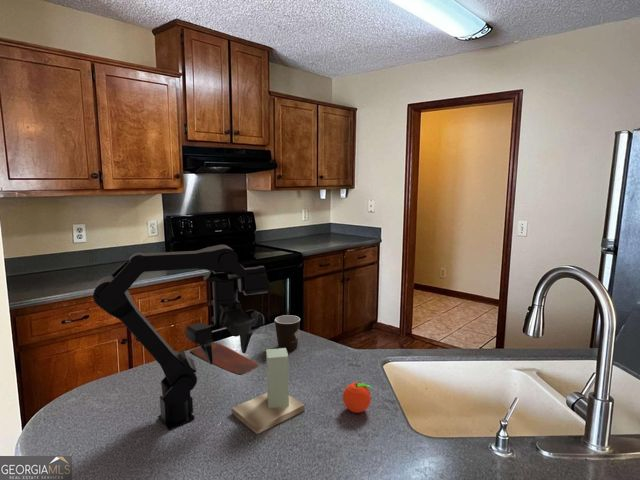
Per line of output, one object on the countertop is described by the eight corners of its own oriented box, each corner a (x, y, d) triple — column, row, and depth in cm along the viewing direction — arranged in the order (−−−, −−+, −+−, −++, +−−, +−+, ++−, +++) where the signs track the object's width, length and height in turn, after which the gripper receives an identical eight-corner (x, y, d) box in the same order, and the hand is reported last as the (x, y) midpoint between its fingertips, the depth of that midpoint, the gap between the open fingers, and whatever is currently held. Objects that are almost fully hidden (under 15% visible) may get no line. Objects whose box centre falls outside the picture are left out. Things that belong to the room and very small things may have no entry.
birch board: (257, 434, 91) (257, 428, 91) (232, 413, 99) (231, 407, 99) (304, 410, 101) (304, 404, 100) (278, 393, 109) (277, 388, 109)
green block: (268, 408, 99) (267, 358, 97) (267, 397, 104) (266, 349, 102) (288, 406, 100) (288, 356, 98) (286, 395, 105) (285, 347, 103)
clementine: (370, 401, 105) (370, 375, 104) (378, 416, 98) (378, 389, 97) (340, 404, 104) (340, 378, 103) (346, 419, 97) (346, 392, 96)
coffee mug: (285, 355, 132) (285, 325, 131) (270, 347, 139) (269, 319, 137) (312, 345, 140) (312, 317, 139) (296, 338, 147) (296, 311, 145)
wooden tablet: (188, 353, 135) (188, 348, 135) (214, 344, 143) (213, 340, 143) (237, 379, 118) (236, 373, 118) (263, 367, 125) (263, 362, 125)
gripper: (205, 314, 86) (208, 383, 88) (276, 296, 98) (277, 357, 101) (182, 302, 94) (186, 365, 96) (251, 287, 106) (252, 344, 109)
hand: (227, 358), depth 100 cm, fingers open, 9 cm apart
